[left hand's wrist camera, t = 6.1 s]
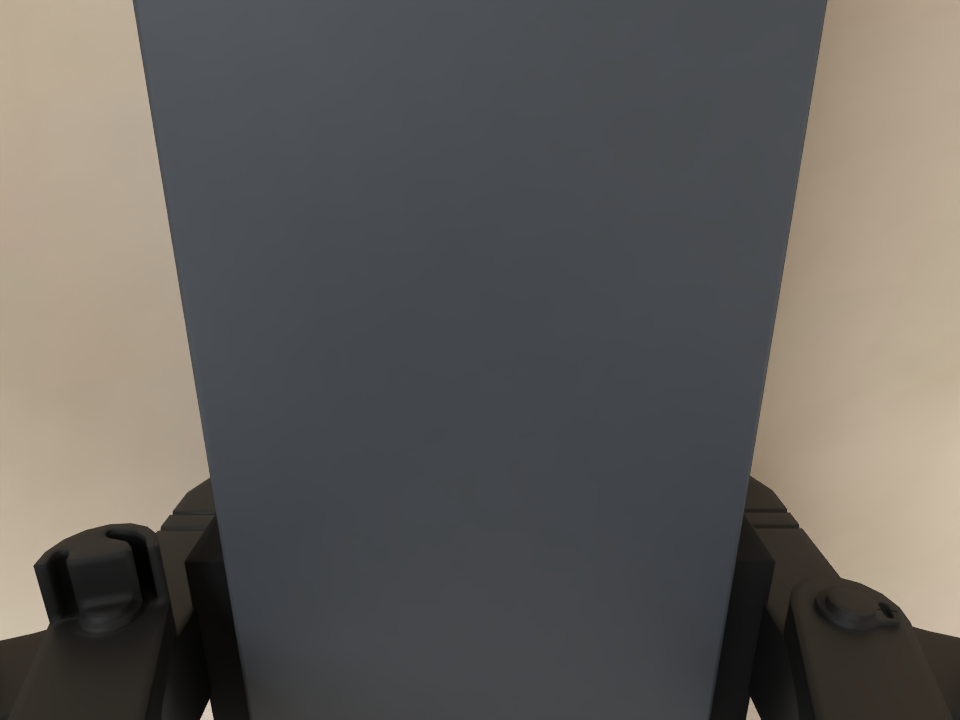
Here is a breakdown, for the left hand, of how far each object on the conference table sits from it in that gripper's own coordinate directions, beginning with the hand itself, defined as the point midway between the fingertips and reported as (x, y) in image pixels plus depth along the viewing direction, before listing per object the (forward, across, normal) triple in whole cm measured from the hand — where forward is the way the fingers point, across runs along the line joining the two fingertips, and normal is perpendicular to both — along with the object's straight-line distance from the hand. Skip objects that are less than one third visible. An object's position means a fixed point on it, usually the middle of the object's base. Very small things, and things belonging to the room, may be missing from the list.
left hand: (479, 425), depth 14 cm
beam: (+1, 0, -26) cm, 27 cm away
